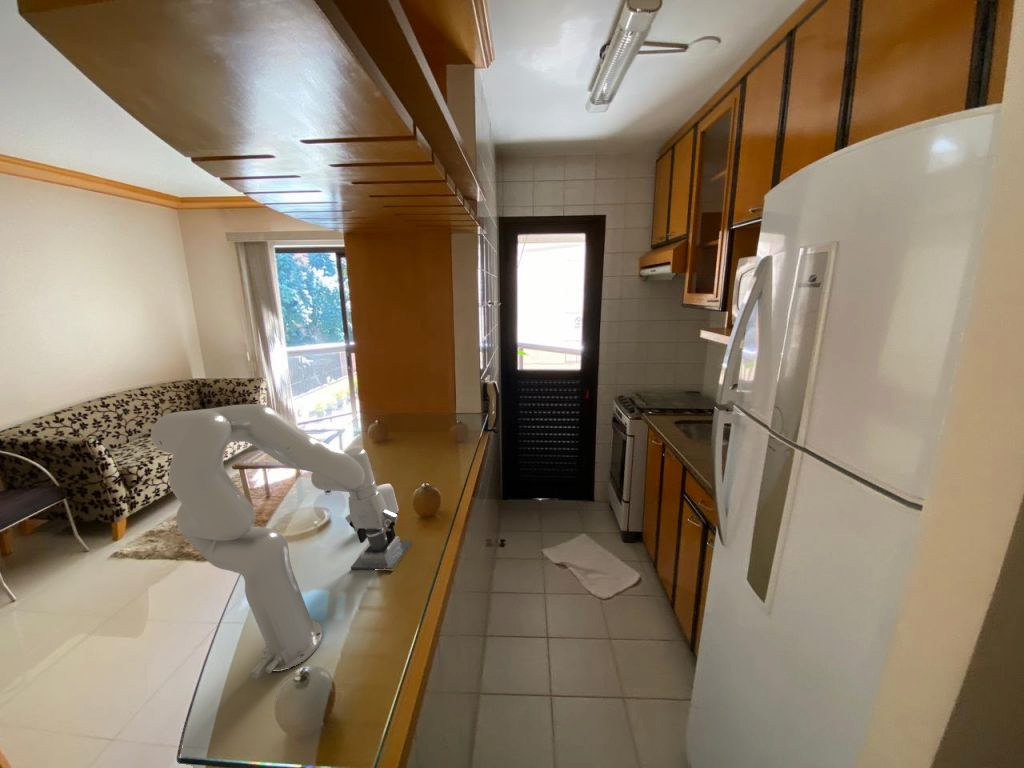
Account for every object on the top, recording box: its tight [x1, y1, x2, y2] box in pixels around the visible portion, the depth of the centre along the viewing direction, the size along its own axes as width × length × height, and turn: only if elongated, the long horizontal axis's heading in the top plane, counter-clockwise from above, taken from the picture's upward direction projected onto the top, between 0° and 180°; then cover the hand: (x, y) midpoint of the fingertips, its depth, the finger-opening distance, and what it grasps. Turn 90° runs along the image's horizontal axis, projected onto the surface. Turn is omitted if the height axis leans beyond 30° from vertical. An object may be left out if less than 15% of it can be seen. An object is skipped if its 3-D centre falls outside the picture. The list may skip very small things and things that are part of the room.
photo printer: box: [376, 483, 400, 514], centre depth 141 cm, size 10×4×12 cm, turn 123°
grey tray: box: [350, 535, 413, 571], centre depth 120 cm, size 12×14×4 cm
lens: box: [365, 527, 389, 553], centre depth 119 cm, size 5×5×9 cm
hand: (378, 540), depth 119 cm, fingers open, 9 cm apart
